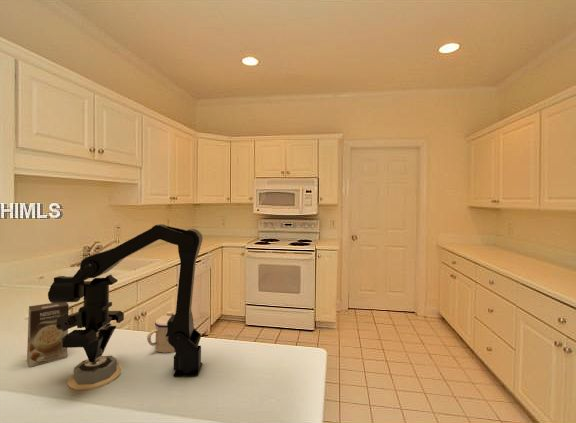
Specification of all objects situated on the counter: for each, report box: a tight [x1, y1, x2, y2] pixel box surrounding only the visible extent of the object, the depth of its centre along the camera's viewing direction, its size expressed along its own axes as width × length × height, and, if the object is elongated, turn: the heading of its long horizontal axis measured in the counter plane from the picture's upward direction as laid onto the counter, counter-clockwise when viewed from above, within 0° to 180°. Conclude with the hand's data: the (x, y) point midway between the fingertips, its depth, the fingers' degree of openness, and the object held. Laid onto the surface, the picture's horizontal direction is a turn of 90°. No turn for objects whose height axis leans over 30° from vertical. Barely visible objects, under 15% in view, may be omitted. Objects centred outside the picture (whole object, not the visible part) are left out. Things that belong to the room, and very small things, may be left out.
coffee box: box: [26, 302, 69, 368], centre depth 90 cm, size 9×6×16 cm
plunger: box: [85, 347, 107, 371], centre depth 80 cm, size 5×5×7 cm
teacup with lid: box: [146, 310, 175, 354], centre depth 97 cm, size 12×9×12 cm
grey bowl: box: [67, 355, 122, 391], centre depth 80 cm, size 12×12×4 cm
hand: (95, 359), depth 80 cm, fingers closed on plunger, 3 cm apart
